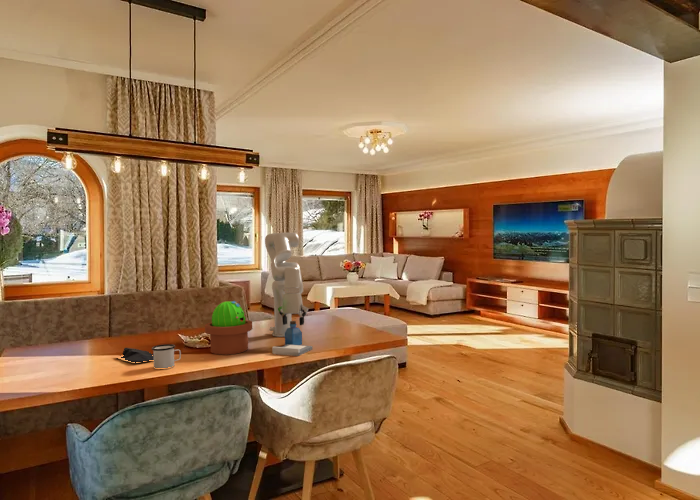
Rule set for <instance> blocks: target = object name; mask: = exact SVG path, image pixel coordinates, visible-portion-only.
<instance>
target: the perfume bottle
mask: <svg viewBox="0 0 700 500" xmlns="http://www.w3.org/2000/svg"><path fill="white" fill-rule="evenodd" d="M287 344H291V345H303V332H302V331H301V329H300V328H299V327H298V326H297V320H292V321H290V328H287V330H286V332H285V337H284V346H285V345H287Z"/></svg>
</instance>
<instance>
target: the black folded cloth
mask: <svg viewBox="0 0 700 500" xmlns="http://www.w3.org/2000/svg"><path fill="white" fill-rule="evenodd" d="M149 352H150V351H147V350H142V349H138V348H132V347H124V348H123V352H122V354H123V355H124V356H123V357H121V358H125V360H128V361H131V362H135V363H136V362H143V361H149V360H154V359H153V356H152V355H153V353H152V352H150V353H149ZM151 353H152V354H151ZM122 354H121V355H122ZM121 355H119V356H121Z"/></svg>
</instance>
